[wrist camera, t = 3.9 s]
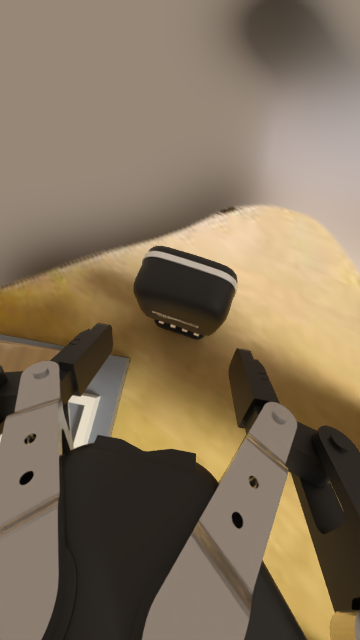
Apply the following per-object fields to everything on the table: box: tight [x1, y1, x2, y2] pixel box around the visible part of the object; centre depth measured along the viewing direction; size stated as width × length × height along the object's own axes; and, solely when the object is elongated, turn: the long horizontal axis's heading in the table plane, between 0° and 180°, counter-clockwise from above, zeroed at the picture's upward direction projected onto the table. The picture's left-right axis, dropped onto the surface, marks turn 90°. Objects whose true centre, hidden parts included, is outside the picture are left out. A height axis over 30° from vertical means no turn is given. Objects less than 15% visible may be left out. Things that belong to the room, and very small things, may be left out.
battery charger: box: [134, 246, 237, 339], centre depth 16 cm, size 7×4×11 cm, turn 71°
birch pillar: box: [0, 340, 61, 372], centre depth 13 cm, size 5×3×11 cm, turn 80°
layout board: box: [0, 334, 130, 448], centre depth 17 cm, size 16×16×2 cm
